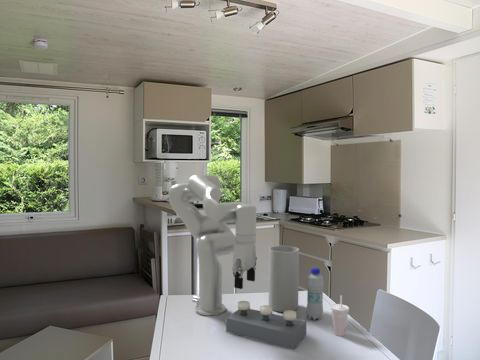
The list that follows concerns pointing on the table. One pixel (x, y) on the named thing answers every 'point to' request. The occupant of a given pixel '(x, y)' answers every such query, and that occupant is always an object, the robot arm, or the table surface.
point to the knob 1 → (243, 307)
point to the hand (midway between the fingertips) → (244, 284)
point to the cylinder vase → (283, 278)
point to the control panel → (266, 328)
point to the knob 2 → (289, 317)
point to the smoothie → (339, 317)
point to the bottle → (315, 294)
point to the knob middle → (266, 312)
